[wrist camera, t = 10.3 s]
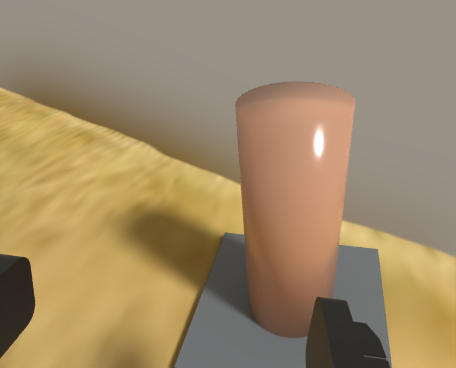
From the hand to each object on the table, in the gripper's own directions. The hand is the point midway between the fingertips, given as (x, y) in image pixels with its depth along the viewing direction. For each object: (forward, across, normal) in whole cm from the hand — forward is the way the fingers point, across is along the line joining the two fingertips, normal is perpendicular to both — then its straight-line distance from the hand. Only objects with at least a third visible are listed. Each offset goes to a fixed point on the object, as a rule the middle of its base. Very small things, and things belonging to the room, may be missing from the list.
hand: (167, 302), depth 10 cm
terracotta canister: (+12, -6, +9) cm, 16 cm away
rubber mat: (+13, -6, +10) cm, 17 cm away
